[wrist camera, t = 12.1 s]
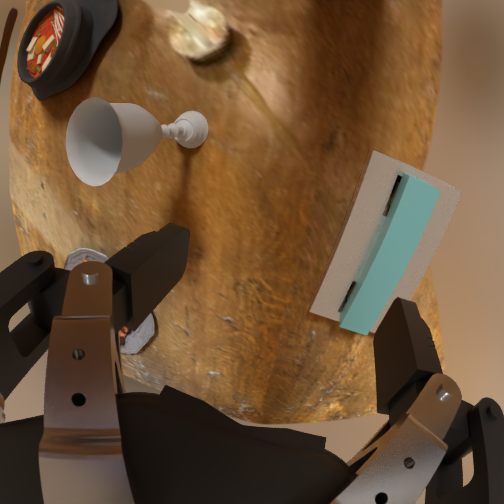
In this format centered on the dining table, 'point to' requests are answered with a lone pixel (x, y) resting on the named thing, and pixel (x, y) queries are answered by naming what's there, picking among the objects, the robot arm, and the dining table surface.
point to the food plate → (128, 338)
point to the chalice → (122, 137)
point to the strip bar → (389, 253)
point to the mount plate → (367, 231)
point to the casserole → (63, 43)
